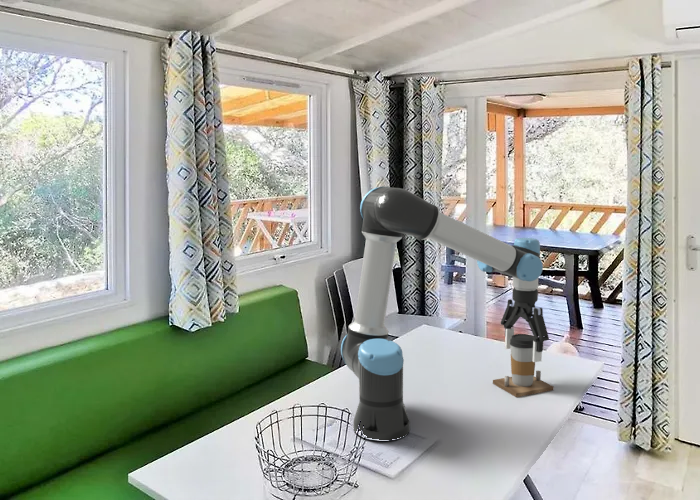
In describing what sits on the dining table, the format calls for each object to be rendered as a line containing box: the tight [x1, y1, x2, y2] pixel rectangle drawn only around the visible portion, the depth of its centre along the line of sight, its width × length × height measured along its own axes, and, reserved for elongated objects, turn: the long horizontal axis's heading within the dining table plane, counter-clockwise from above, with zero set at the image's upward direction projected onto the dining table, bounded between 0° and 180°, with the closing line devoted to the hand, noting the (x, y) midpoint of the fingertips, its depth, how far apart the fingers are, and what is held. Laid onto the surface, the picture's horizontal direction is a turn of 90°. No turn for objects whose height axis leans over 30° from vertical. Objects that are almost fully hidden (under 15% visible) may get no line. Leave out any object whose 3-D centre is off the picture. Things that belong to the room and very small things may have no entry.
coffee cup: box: [510, 333, 536, 387], centre depth 180 cm, size 8×8×15 cm
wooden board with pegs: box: [492, 370, 555, 398], centre depth 181 cm, size 14×12×4 cm
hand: (522, 354), depth 179 cm, fingers open, 13 cm apart
